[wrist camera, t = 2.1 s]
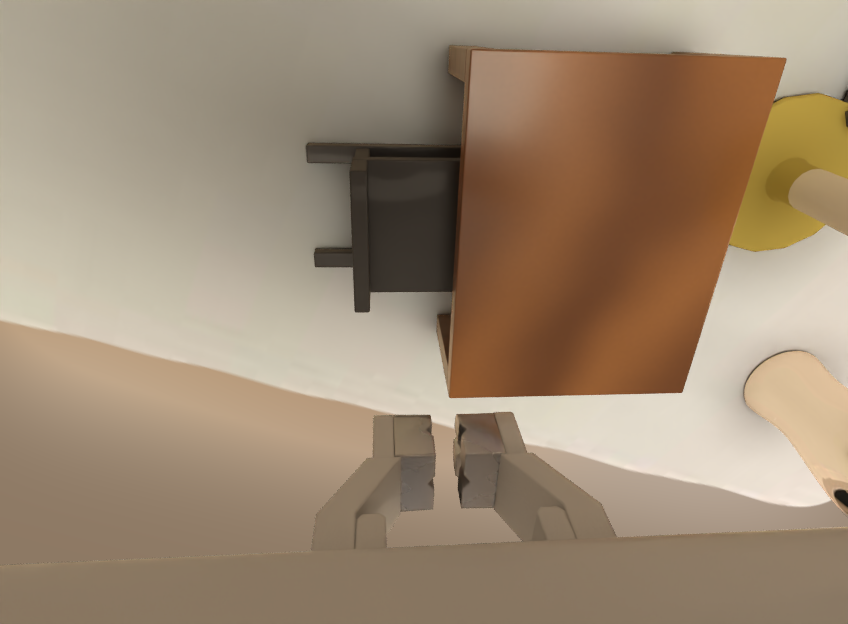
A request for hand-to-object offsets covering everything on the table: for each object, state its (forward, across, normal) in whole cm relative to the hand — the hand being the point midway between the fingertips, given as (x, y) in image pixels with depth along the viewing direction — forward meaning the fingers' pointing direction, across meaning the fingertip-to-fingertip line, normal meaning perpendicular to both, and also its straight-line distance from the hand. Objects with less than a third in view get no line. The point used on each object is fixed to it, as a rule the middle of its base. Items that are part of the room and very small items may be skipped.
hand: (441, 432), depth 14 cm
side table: (+21, -9, 0) cm, 23 cm away
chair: (+21, +1, 0) cm, 21 cm away
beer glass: (+21, -30, +14) cm, 39 cm away
